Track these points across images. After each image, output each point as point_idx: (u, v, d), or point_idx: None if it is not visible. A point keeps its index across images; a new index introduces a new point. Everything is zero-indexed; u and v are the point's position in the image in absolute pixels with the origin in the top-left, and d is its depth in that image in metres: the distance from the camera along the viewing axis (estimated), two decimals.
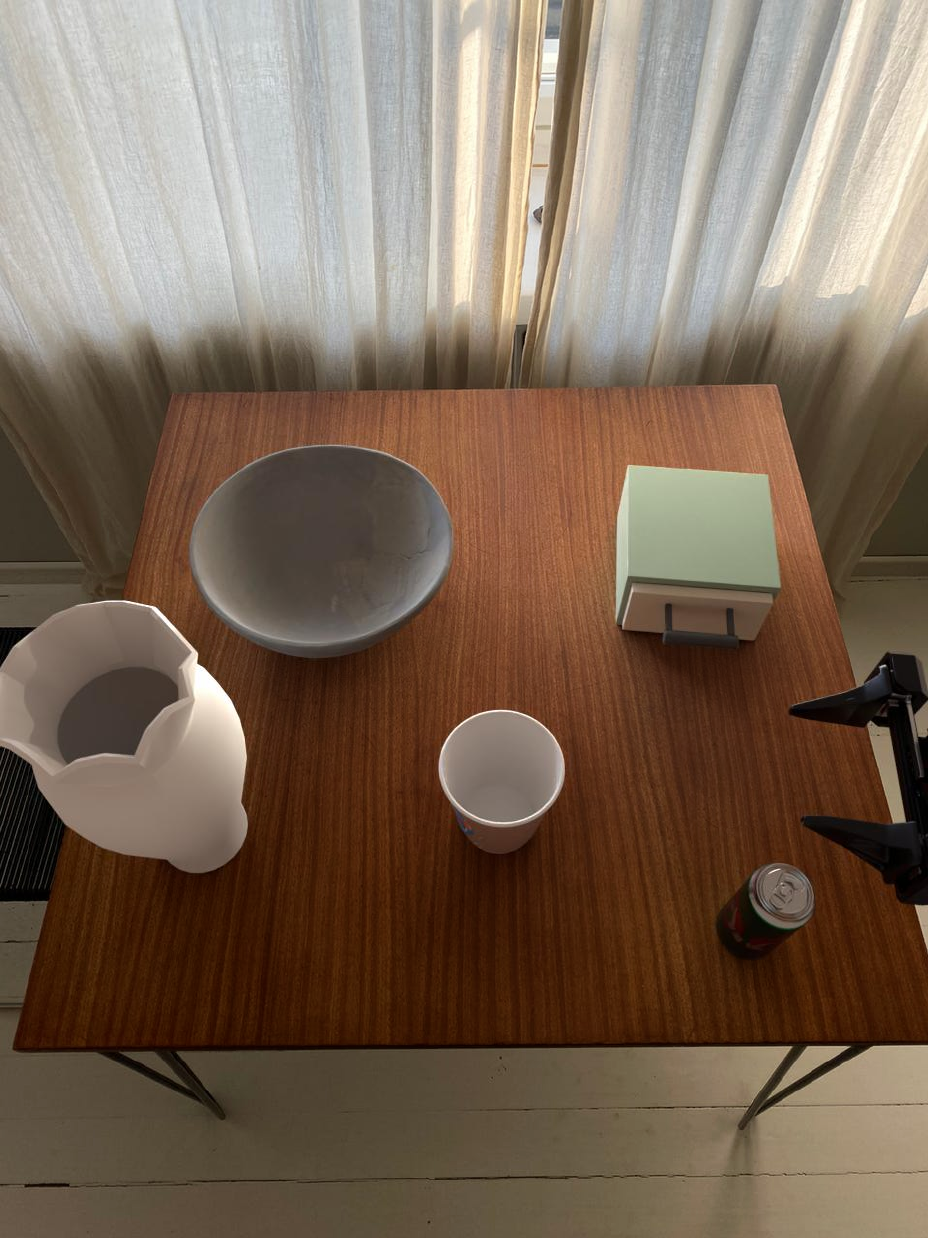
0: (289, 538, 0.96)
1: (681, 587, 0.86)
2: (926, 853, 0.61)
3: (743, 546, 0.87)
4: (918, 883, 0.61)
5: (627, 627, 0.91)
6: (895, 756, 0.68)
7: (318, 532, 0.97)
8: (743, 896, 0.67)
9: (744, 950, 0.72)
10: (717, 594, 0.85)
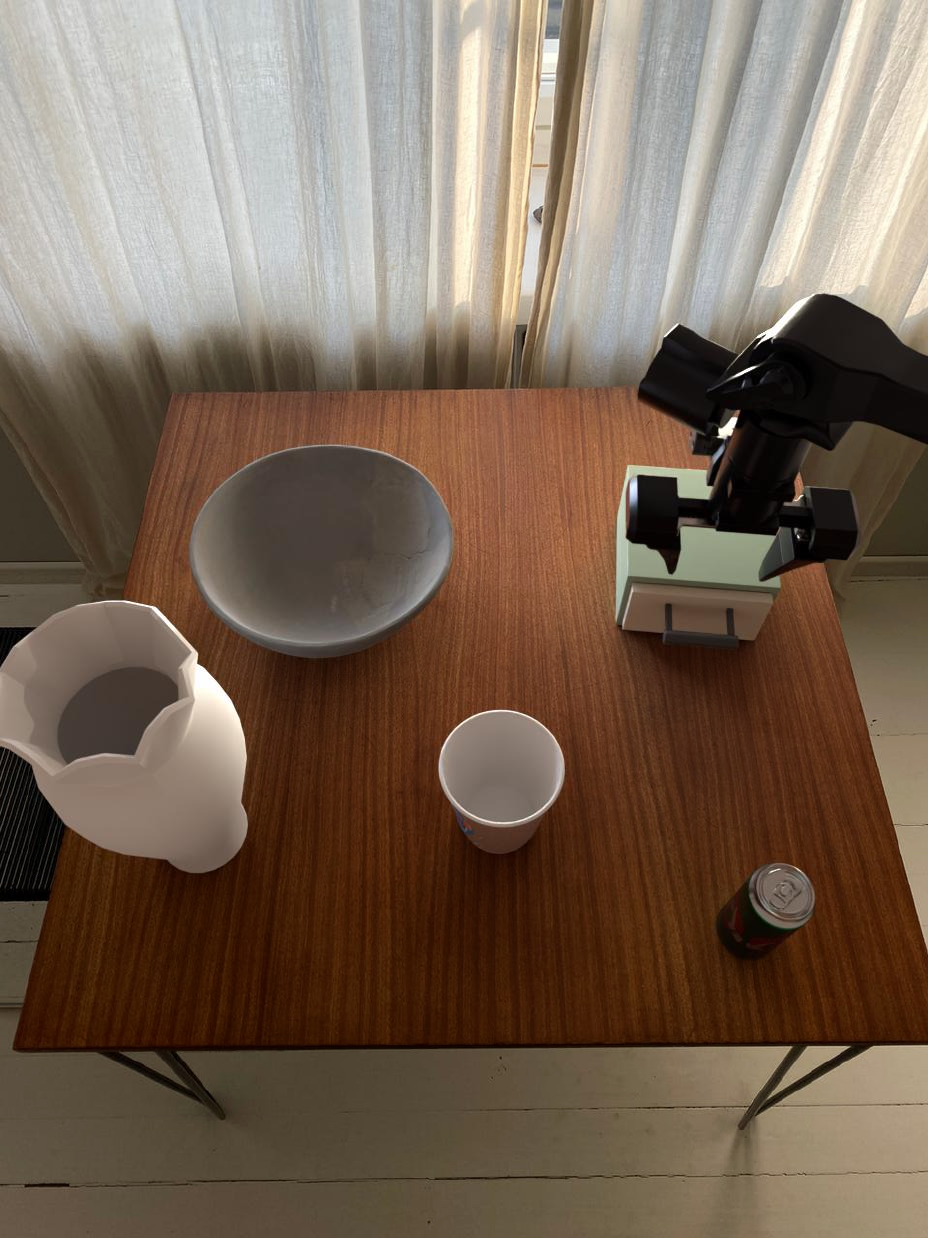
0: (289, 538, 0.96)
1: (681, 587, 0.86)
2: None
3: (743, 546, 0.87)
4: None
5: (627, 627, 0.91)
6: None
7: (318, 532, 0.97)
8: (743, 896, 0.67)
9: (744, 950, 0.72)
10: (717, 594, 0.85)
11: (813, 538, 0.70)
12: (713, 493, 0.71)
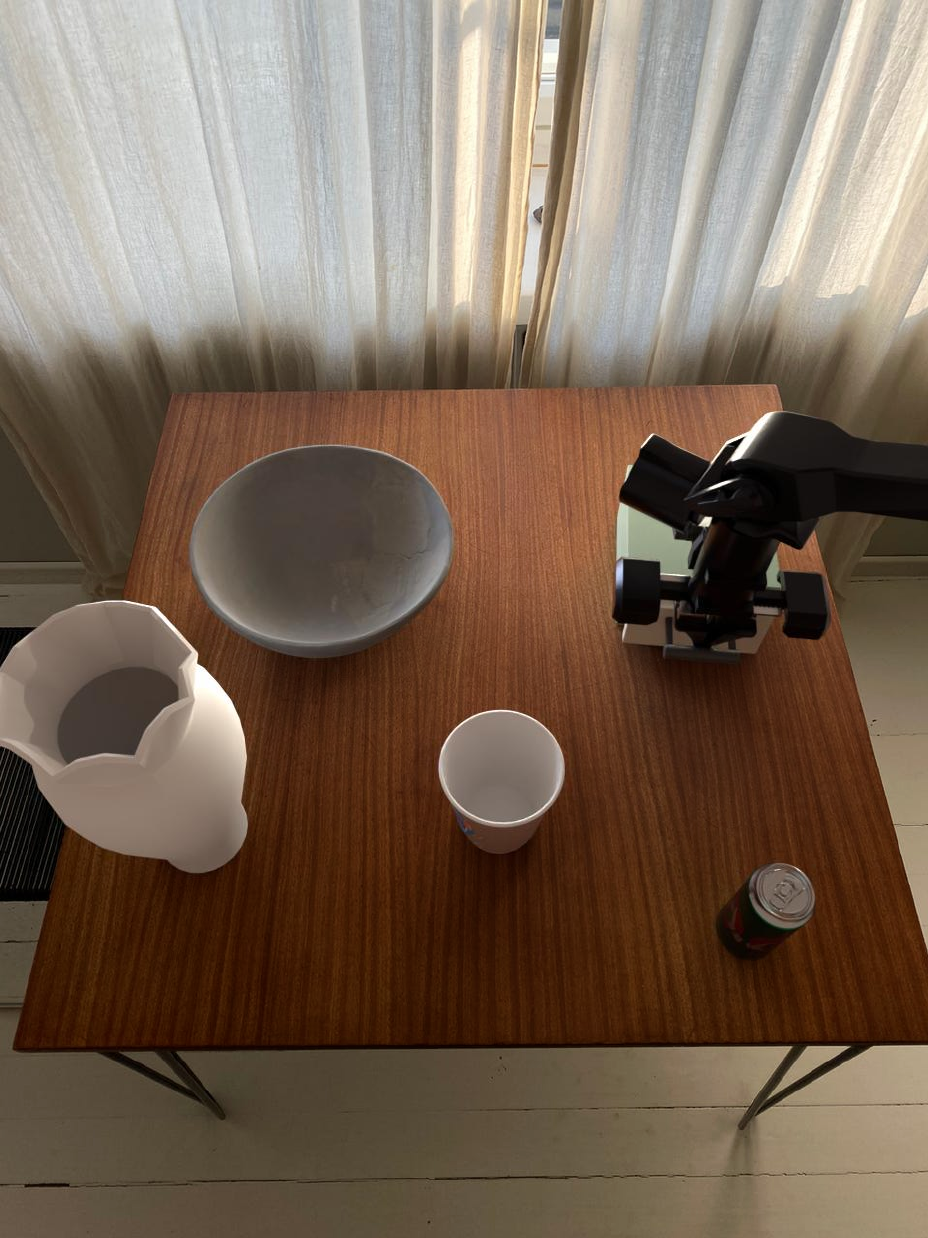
0: (289, 538, 0.96)
1: None
2: None
3: None
4: None
5: (627, 640, 0.90)
6: None
7: (318, 532, 0.97)
8: (743, 896, 0.67)
9: (744, 950, 0.72)
10: None
11: (786, 621, 0.76)
12: (693, 578, 0.76)
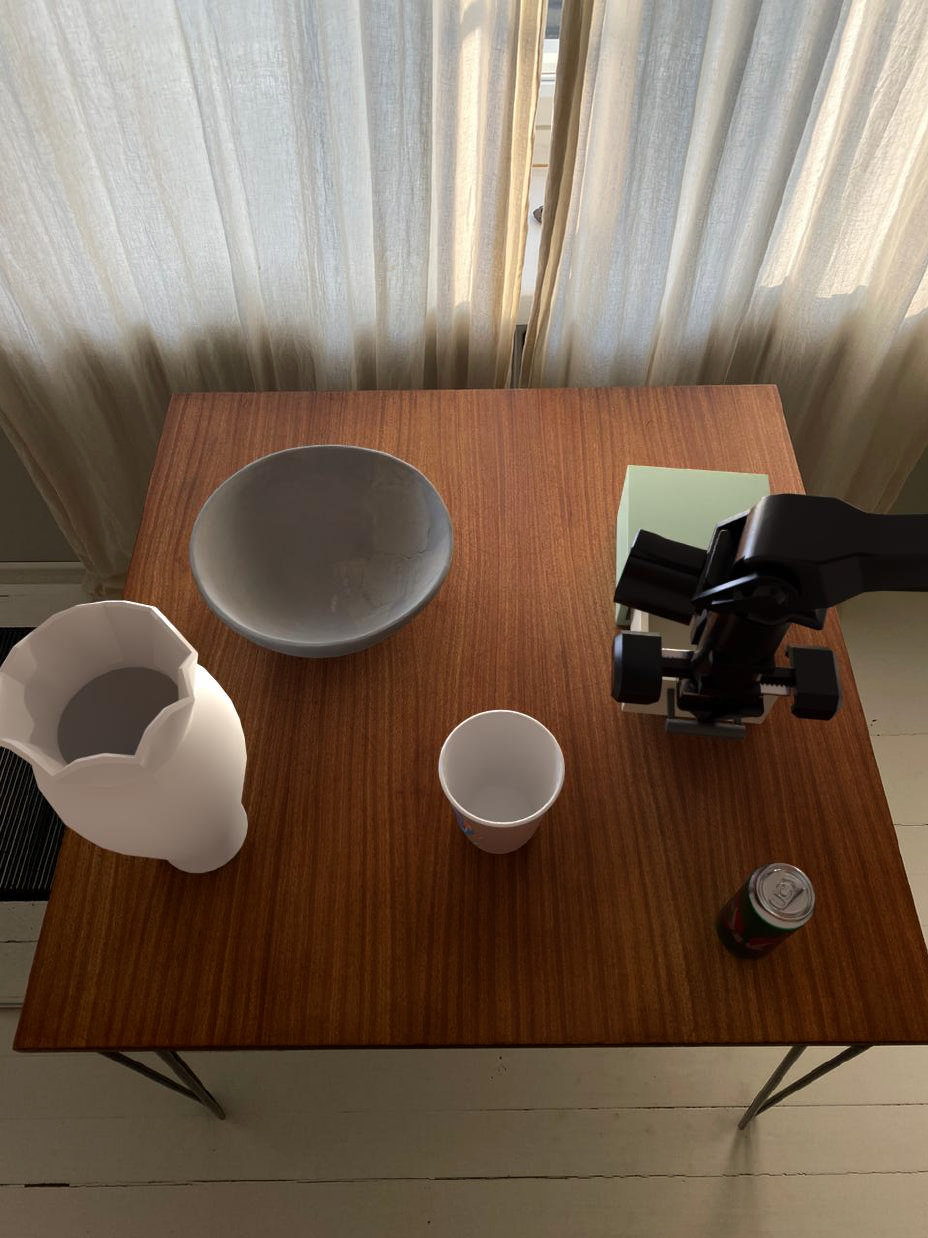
0: (289, 538, 0.96)
1: None
2: None
3: None
4: None
5: (627, 709, 0.86)
6: None
7: (318, 532, 0.97)
8: (743, 896, 0.67)
9: (744, 950, 0.72)
10: None
11: (795, 702, 0.71)
12: (696, 657, 0.72)
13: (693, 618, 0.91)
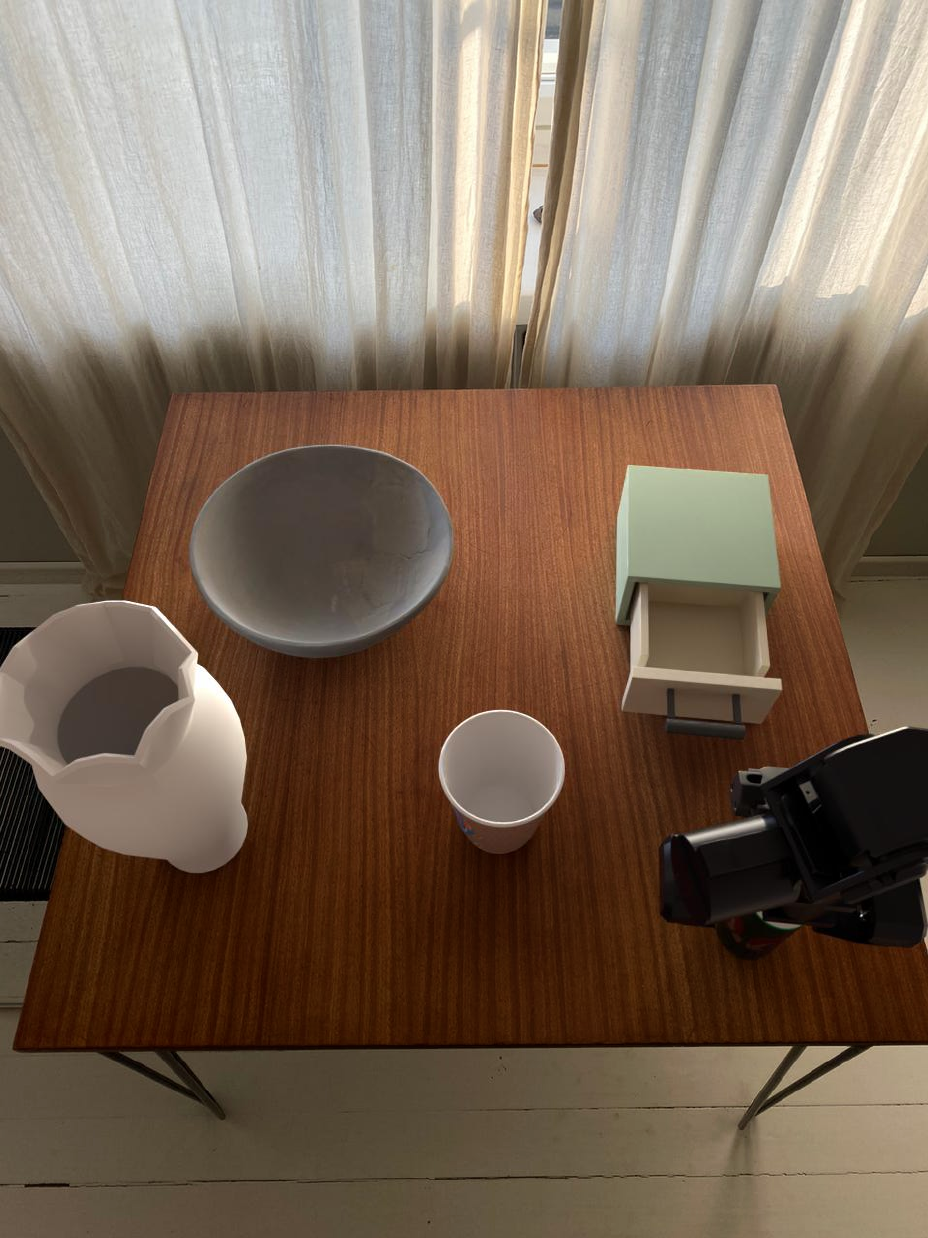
0: (289, 538, 0.96)
1: (685, 672, 0.80)
2: None
3: (743, 546, 0.87)
4: None
5: (627, 709, 0.86)
6: None
7: (318, 532, 0.97)
8: None
9: (744, 950, 0.72)
10: (723, 680, 0.80)
11: (873, 931, 0.62)
12: None
13: (693, 618, 0.91)
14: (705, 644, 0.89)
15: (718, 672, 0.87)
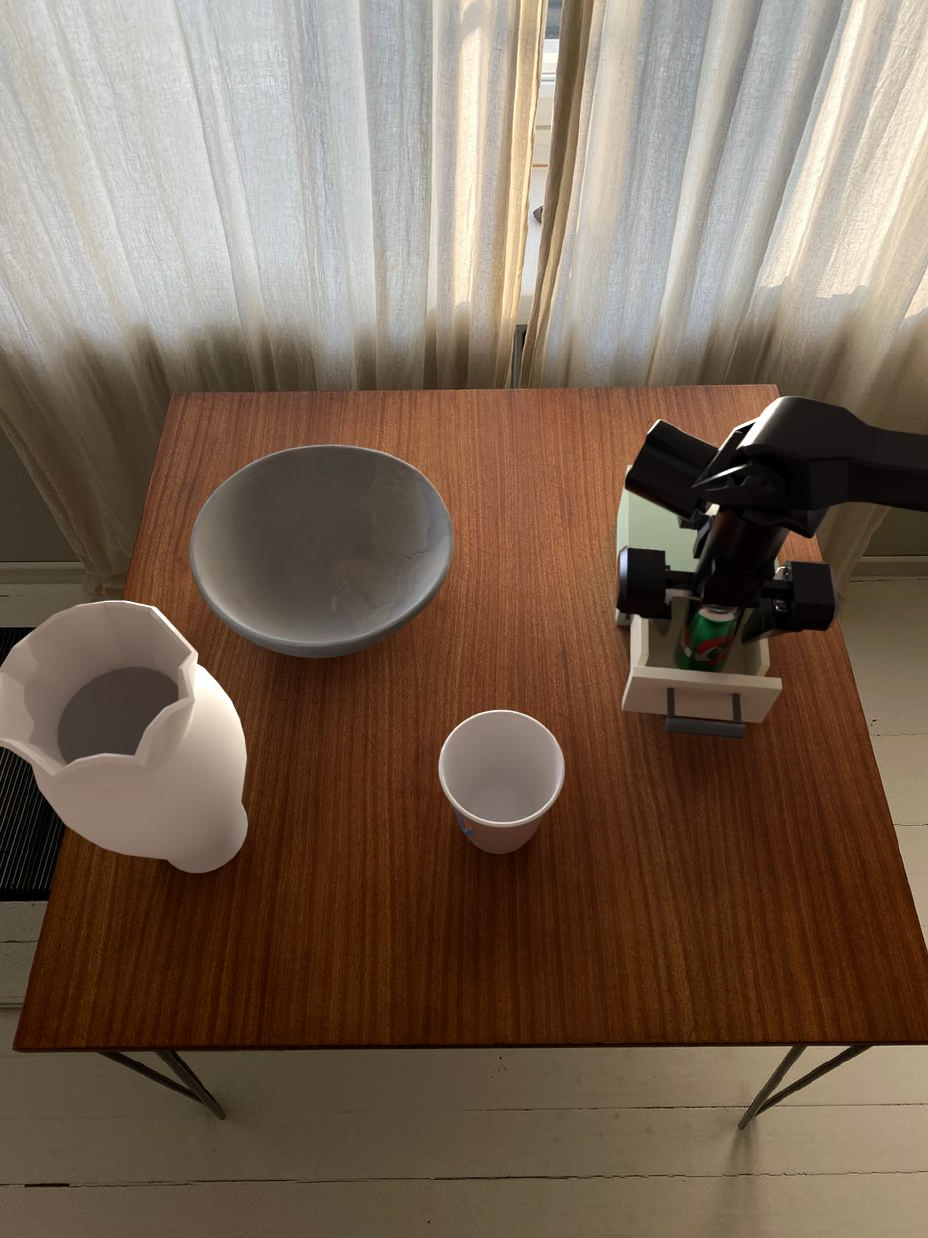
0: (289, 538, 0.96)
1: (684, 671, 0.81)
2: None
3: None
4: None
5: (627, 708, 0.86)
6: None
7: (318, 532, 0.97)
8: (687, 605, 0.80)
9: (695, 665, 0.84)
10: (723, 679, 0.80)
11: (793, 611, 0.74)
12: (698, 568, 0.75)
13: None
14: None
15: None
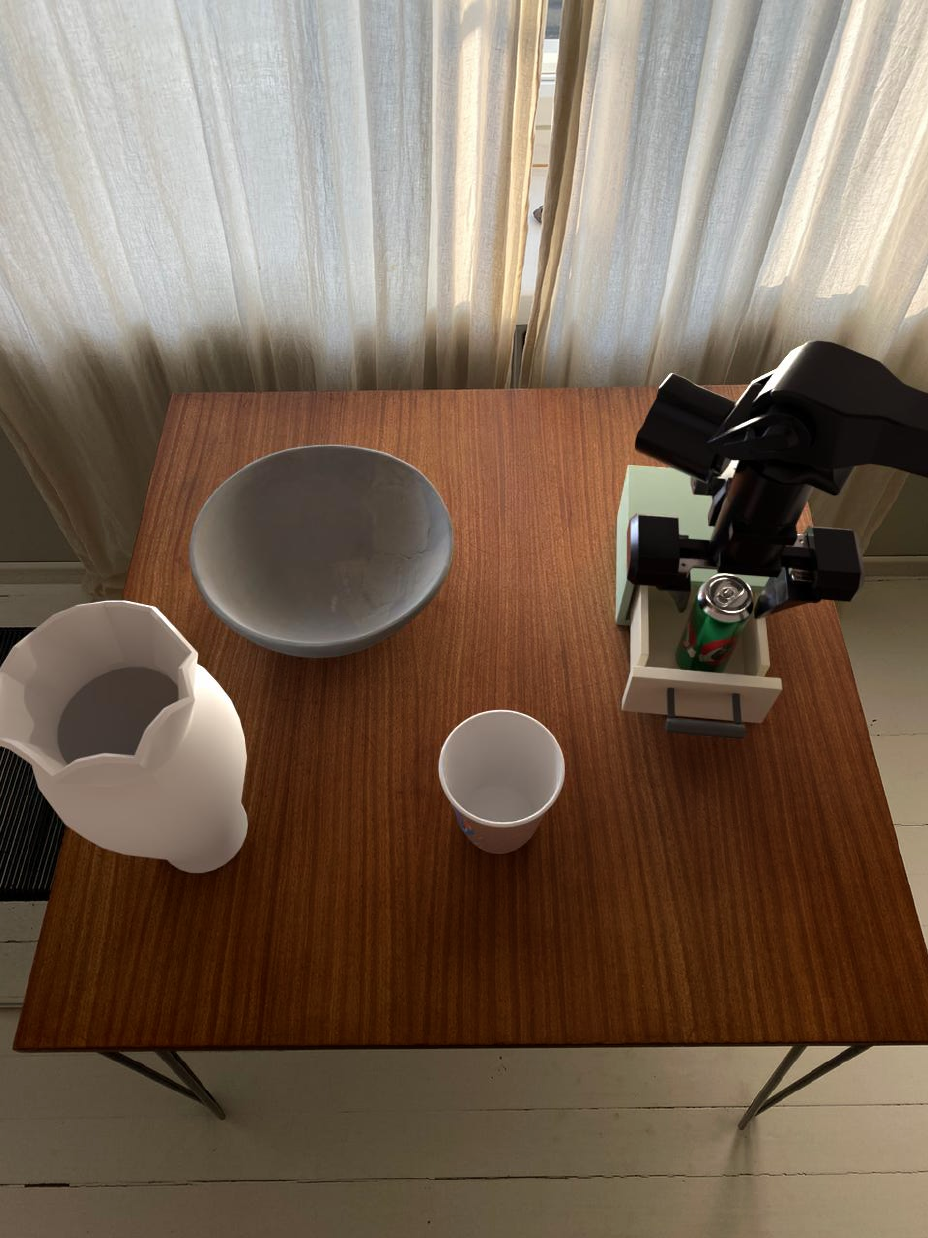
0: (289, 538, 0.96)
1: (684, 672, 0.81)
2: None
3: None
4: None
5: (627, 709, 0.86)
6: None
7: (318, 532, 0.97)
8: (694, 605, 0.80)
9: (698, 666, 0.84)
10: (723, 679, 0.80)
11: (816, 580, 0.70)
12: (714, 535, 0.70)
13: None
14: None
15: None
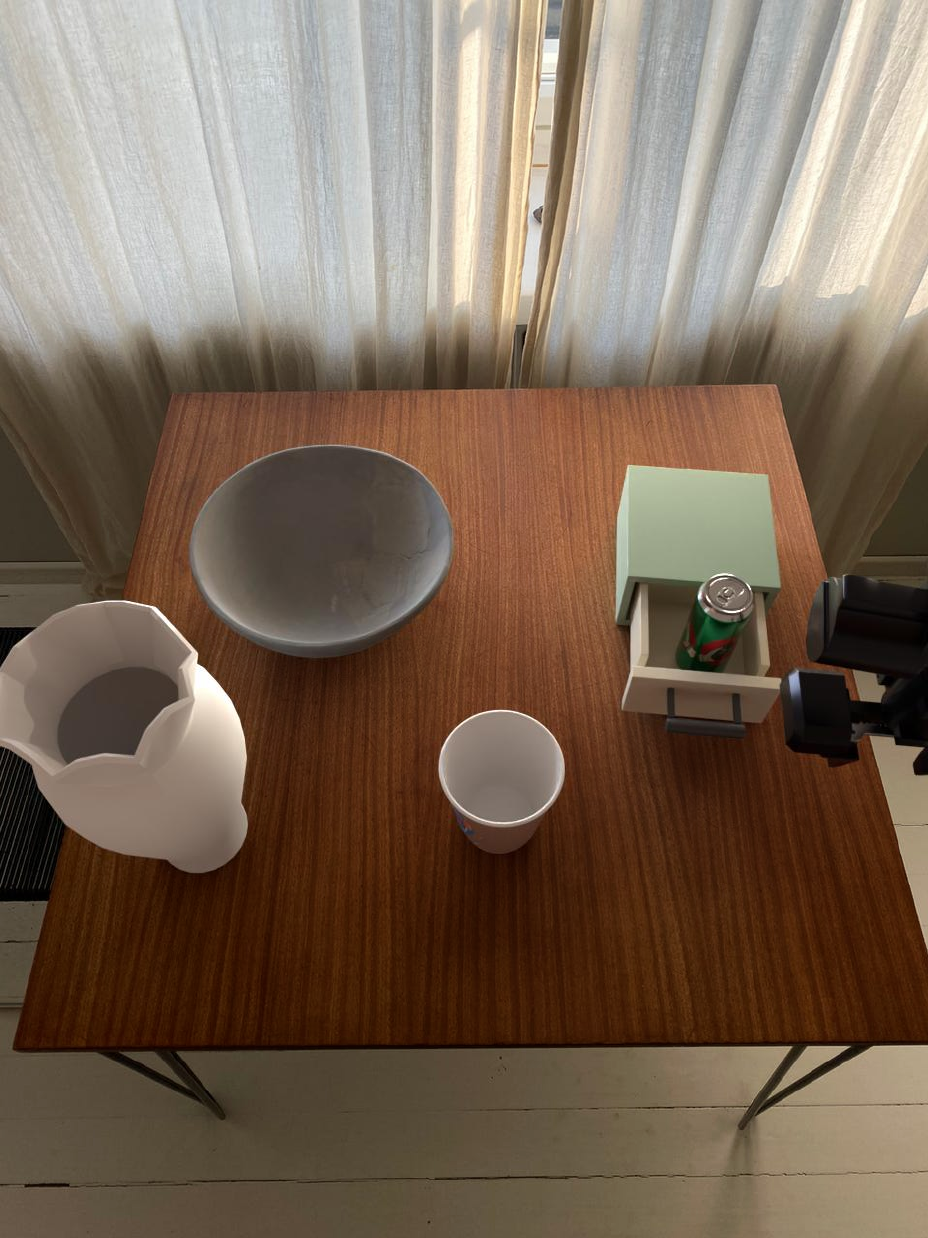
0: (289, 538, 0.96)
1: (684, 672, 0.81)
2: None
3: (743, 546, 0.87)
4: None
5: (627, 709, 0.86)
6: None
7: (318, 532, 0.97)
8: (694, 605, 0.80)
9: (698, 665, 0.84)
10: (723, 679, 0.80)
11: None
12: (892, 701, 0.62)
13: None
14: None
15: None
